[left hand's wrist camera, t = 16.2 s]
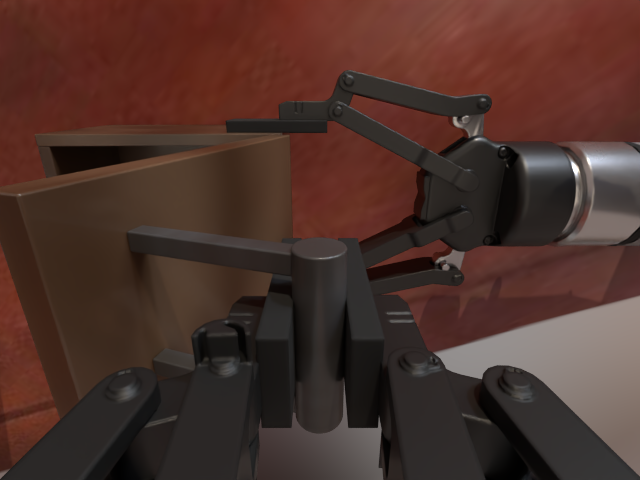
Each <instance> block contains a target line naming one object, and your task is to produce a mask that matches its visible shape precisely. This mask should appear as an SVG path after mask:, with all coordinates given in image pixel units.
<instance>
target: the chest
mask: <svg viewBox="0 0 640 480" xmlns="http://www.w3.org/2000/svg"><path fill="white" fill-rule="evenodd" d="M268 135H289V133H227V130H226V125H107V126H98V127H90V128H82V129H74V130H66V131H58V132H50V133H42V134H35V138H36V142H37V145H38V146H39V147H38V149H39V152H40V156H41V160H42V163H43V167H44V171H45V174H46V178H49V177H55V176H60V175H65V174H70V173H75V172H81V171H86V170H91V169H96V168H101V167H107V166H112V165H117V164H122V163H127V162H133V161H138V160H143V159H148V158H153V157H159V156H164V155H169V154H174V153H179V152H184V151H190V150H195V149H200V148H205V147H210V146H216V145H221V144H226V143H231V142H236V141H242V140H247V139H252V138H257V137H262V136H268Z"/></svg>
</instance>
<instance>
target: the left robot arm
mask: <svg viewBox="0 0 640 480" xmlns="http://www.w3.org/2000/svg"><path fill="white" fill-rule="evenodd" d="M300 240H302V239H301V238H282V242H281V243H287V244H294V243H296V242H298V241H300ZM338 241H341V242H343V243H344V244H345V245H346V246H347V249H348V255H347V289H346V321H345V355H344V383H345V395H346V406H347V417H348V427H349V428H378V419H379V417H380V423H381V428H382V432H381V445H380V457H379V468H383V479H384V480H640V476H639V475H637V474H636V473H635V472H634V471H633V470H632V469H631V468H630V467H629V466H628V465H627V464H626V463H625V462H624V461H623V460H622V459H621V458H620V457H619V456H618V455H617V454H616V453H615V452H614V451H613V450H612V449H611V448H610V447H609V446H608V445H607V444H606V443H605V442H604V441H603V440H602V439H601V438H600V437H599V436H598V435H597V434H596V433H595V432H594V431H592V430H591V429H590V428H589V427H588V426H587V425H586V424H585V423H584V422H583V421H582V420H581V419H580V418H579V417H578V416H577V415H576V414H575V413H574V412H573V411H572V410H571V409H570V408H569V407H568V406H567V405H566V404H565V403H564V402H563V401H562V400H561V399H560V398H559V397H558V396H557V395H556V394H555V393H554V392H553V391H552V390H551V389H550V388H548V387H547V386H546V385H545V384H544V383H543V382H542V381H541V380H539V379H538V378H537V377H535V376H534V375H533V374H531V373H529V372H526V371H524V370H522V369H519V368H515V367H511V366H498V365H497V366H494V367H490V368H488V369H487V370H486V371H485V372H484V374H483V378H482V379H478V378H473V377H469V376H465V375H460V374H457V373H454V372H451V371H449V370H447V369H446V368H445V365H444V364H443V362H442V361H441V359H440V358H439V357H438V356H436V355H435V354H434V353H432V352H430V351H428V350H427V348H426V346H425V343H424V341H423V339H422V336H421V334H420V332H419V329H418V327H417V325H416V323H415V320H414V318H413V315H411V311H410V308H409V306H408V304H407V303H406V302H405V301H404V300H403V299H402V298H400V297H399V296H398V295H373V294H372V291H371V287H370V283H369V280H368V276H367V272H366V269H365V265H364V261H363V257H362V254H361V250H360V246H359V243H358V239H357V238H338ZM191 340H192V347H193V354H194V360H195V368H194V371H192V372H190V373H187V374H184V375H181V376H177V377H173V378H169V379H164V380H160V381H158V379H157V375H156V374H155V373H154V372H153V371H152V370H151V369H148V368H145V367H131V368H127V369H123V370H119V371H117V372H115V373H113V374H111V375H109V376H107V377H105V378H104V379H103V380H101V381H100V382H99V383H98V384H96V385H95V386H94V387H93V388H92V389H91V390H90V391H89V392H88V393H87V394H86V395H85V396H84V397H83V398H82V399H81V400H80V401H79V402H78V403H77V404H76V405H75V406H74V407H73V408H72V409H71V410H70V411H69V412H68V413H67V414H66V415H65V416H64V417H63V418H62V419H61V420H60V421H59V422H58V423H57V424H56V425H55V426H54V427H53V428H52V429H51V430H50V431H49V432H48V433H47V434H46V435H45V436H44V437H43V438H42V439H41V440H40V441H38V442H37V443H36V444H35V445H34V446H33V447H32V448H31V449H30V450H29V451H28V452H27V453H26V454H25V455H24V456H23V457H22V458H21V459H20V460H19V461H18V462H17V463H16V464H15V465H14V466H13V467H12V468H11V469H10V470H9V471H8V472H7V473H6V474H5V475H4V476H3V477H2V478H1V479H0V480H257V469H258V457H259V446H260V445H259V432H258V428H259V423H260V418H261V422H262V428H291V426H292V415H293V404H294V392H295V381H296V379H295V346H294V313H293V299H292V278H291V276H285V275H278V274H273V275H272V279H271V282H270V286H269V290H268V293H267V296H242V297H241V298H240V299H238V300H237V301H236V302H235V303H234V304H233V305H232V307H231V309H230V312H229V315H228V316H227V318H225V319H218V320H213V321H211V322H208V323H205V324H203V325H202V326H200V327H199V328H197V329H196V330H195V331H194V333H193V334H192V335H191Z"/></svg>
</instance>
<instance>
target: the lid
mask: <svg viewBox="0 0 640 480" xmlns="http://www.w3.org/2000/svg"><path fill="white" fill-rule="evenodd" d="M282 238H293V228H292V193H291V159H290V136H289V135H268V136H262V137H257V138H252V139H247V140H242V141H236V142H231V143H226V144H221V145H216V146H210V147H205V148H200V149H195V150H190V151H184V152H179V153H174V154H169V155H164V156H159V157H153V158H148V159H143V160H138V161H133V162H127V163H122V164H117V165H112V166H107V167H101V168H96V169H91V170H86V171H81V172H75V173H70V174H65V175H60V176H55V177H49V178H44V179H39V180H34V181H29V182H23V183H18V184H13V185H8V186H3V187H0V243H1V246H2V249H3V252H4V255H5V258H6V261H7V264H8V267H9V270H10V273H11V276H12V278H13V281H14V284H15V287H16V290H17V293H18V296H19V299H20V302H21V305H22V308H23V311H24V314H25V317H26V320H27V323H28V326H29V329H30V332H31V334H32V337H33V340H34V343H35V346H36V349H37V352H38V355H39V358H40V361H41V364H42V367H43V370H44V373H45V376H46V379H47V382H48V385H49V388H50V390H51V393H52V396H53V399H54V402H55V405H56V408H57V411H58V414H59V417H60V420H61V419H62V418H63V417H64V416H65V415H66V414H67V413H68V412H69V411H70V410H71V409H72V408H73V407H74V406H75V405H76V404H77V403H78V402H79V401H80V400H81V399H82V398H83V397H84V396H85V395H86V394H87V393H88V392H89V391H90V390H91V389H92V388H93V387H94V386H95V385H96V384H98V383H99V382H100V381H101V380H103V379H104V378H105V377H107V376H109V375H111V374H113V373H115V372H117V371H119V370H123V369H127V368H131V367H145V368H148V369H151V370H152V371H153V372H154V373H155V374H156V375H157V379H158V381H160V380H164V379H169V378H173V377H177V376H181V375H184V374H187V373H190V372H192V371H194V368H195V360H194V354H193V347H192V340H191V335H192V334H193V333H194V331H195V330H196V329H197V328H199V327H200V326H202V325H203V324H205V323H208V322H211V321H213V320H218V319H225V318H227V316H228V315H229V312H230V309H231V307H232V305H233V304H234V303H235V302H236V301H237V300H238V299H240V298H241V297H242V296H267V293H268V290H269V286H270V282H271V279H272V275H273V274H278V275H285V276H291V278H292V299H293V313H294V346H295V379H296V381H295V392H294V404H293V412H294V413H296V418H297V421H298V423H299V424H300V425H301V427H303V428H304V429H305V430H307V431H309V432H312V433H327V432H330V431H332V430H333V429H335V428H336V427H337V426H338V425H339V424H340V422H341V420H342V417H343V392H344V355H345V321H346V289H347V255H348V249H347V246H346V245H345V244H344V243H343V242H341V241H338V240H335V239H331V238H308V239H303V240H300V241H298V242H296V243H294V244H287V243H281V242H282Z"/></svg>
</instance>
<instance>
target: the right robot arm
mask: <svg viewBox="0 0 640 480" xmlns="http://www.w3.org/2000/svg"><path fill="white" fill-rule="evenodd" d="M353 94H355V95H358V96H362V97H366V98H370V99H374V100H378V101H382V102H386V103H390V104H394V105H398V106H402V107H406V108H410V109H414V110H418V111H422V112H426V113H430V114H434V115H441V116H448V121H449V124H450V125H451V126H453V127H456V128H460V129H461V130H462V131H463V135H464V136H463V137H461V138H460V139H459V140H457V141H456V142H454V143H453V144H451V145H450V146H448V147H447V148H445V149H444V150H443V151H441V152H440V153H438V154H436V153H434V152H432V151H430V150H428V149H426V148H424V147H423V146H421V145H419V144H417V143H415V142H413V141H412V140H410V139H408V138H406V137H404V136H402V135H401V134H399V133H397V132H395V131H393V130H391V129H390V128H388V127H386V126H384V125H382V124H380V123H379V122H377V121H375V120H373V119H371V118H369V117H368V116H366V115H364V114H362V113H360V112H358V111H357V110H355V109H353V108H351V107H349V105H350V102H351V99H352V96H353ZM491 104H492V101H491V98H490V97H489V96H488V95H486V94H473V95H462V96H454V97H452V96H448V95H444V94H440V93H436V92H433V91H429V90H425V89H421V88H417V87H413V86H409V85H406V84H402V83H398V82H394V81H390V80H386V79H382V78H378V77H375V76H371V75H367V74H363V73H359V72H355V71H351V70H347V71H344V72H343V73H342V74H341V75H340V76H339V78H338V80H337V83H336V86H335V89H334V92H333V94H332V96H331V97H330V98H329V99H328V100H326V101H286V102H284V103H281V104H279V119H232V120H227V121H226V130H227V133H327V121H336V122H337V123H339V124H341V125H343V126H345V127H347V128H349V129H351V130H352V131H354V132H356V133H358V134H360V135H362V136H364V137H365V138H367V139H369V140H371V141H373V142H375V143H377V144H379V145H380V146H382V147H384V148H386V149H388V150H390V151H392V152H394V153H395V154H397V155H399V156H401V157H403V158H405V159H407V160H408V161H410V162H412V163H414V164H416V165H418V166H419V167H421V169H420V172H417V180H416V183H417V188H418V194H417V197H416V199H415V202H414V213H415V214H413V215H410V216H408V217H406V218H405V219H403V220H402V222H401V223H399V224H397V225H395V226H393V227H391V228H388V229H386V230H384V231H382V232H380V233H378V234H376V235H374V236H371V237H369V238H367V239H365V240H363V241H361V242H359V246H360V250H361V254H362V257H363V261H364V265H365V269H366V268H369V267H371V266H373V265H375V264H377V263H380V262H382V261H384V260H386V259H388V258H391V257H393V256H395V255H397V254H399V253H402V252H404V251H406V250H408V249H410V248H413V247H422V246H424V245H427V244H429V243H431V242H433V241H435V240H438V239H440V240H441V241H443V242H444V243H445V244H447V245H448V248H447V249H446V250H445V251H443V252H435V253H434V254H433V256H432V257H421V258H416V259H411V260H406V261H402V262H397V263H392V264H388V265H383V266H378V267H374V268H369V269H366V272H367V276H368V280H369V283H370V287H371V291H372V294H373V295H381V294H386V293H391V292H396V291H400V290H405V289H410V288H415V287H419V286H424V285H429V284H441V285H451V286H458V285H460V284H461V283H462V282H463V281H464V275H463V274H462V272H461V271H460V268H461V264H462V261H463V257H464V254H465V252H466V251H469V250H471V249H473V248H476V247H479V246H544V245H550V246H617V245H622V246H640V142H558V143H555V144H554V143H552V142H494V141H491V140H489V139H488V138H486V137H484V136H483V126H484V113H486V112H487V111H489V109H490V108H491Z"/></svg>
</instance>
